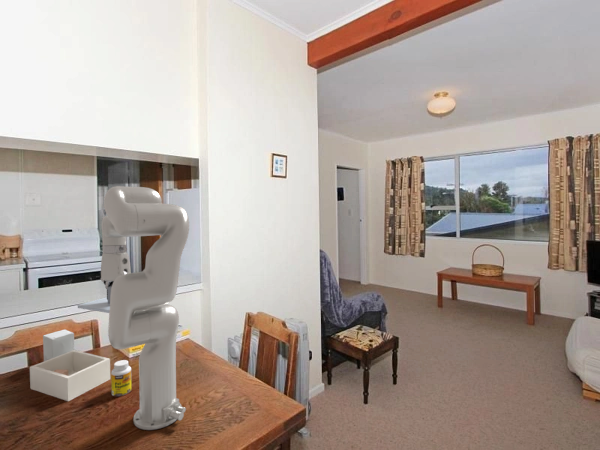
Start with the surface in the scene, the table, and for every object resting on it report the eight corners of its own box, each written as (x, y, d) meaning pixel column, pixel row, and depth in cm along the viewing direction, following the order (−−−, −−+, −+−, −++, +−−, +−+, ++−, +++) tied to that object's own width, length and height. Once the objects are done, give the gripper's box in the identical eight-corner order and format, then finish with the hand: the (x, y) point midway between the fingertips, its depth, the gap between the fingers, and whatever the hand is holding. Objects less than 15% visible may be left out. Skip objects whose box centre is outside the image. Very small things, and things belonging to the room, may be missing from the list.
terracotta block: (68, 381, 111) (68, 369, 111) (59, 387, 107) (59, 375, 107) (56, 381, 111) (56, 369, 111) (47, 387, 107) (47, 375, 107)
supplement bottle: (112, 401, 101) (111, 368, 101) (110, 392, 106) (110, 361, 106) (132, 395, 104) (132, 363, 104) (130, 387, 109) (130, 357, 109)
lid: (151, 302, 126) (151, 284, 125) (117, 314, 112) (117, 293, 111) (114, 297, 133) (114, 280, 132) (77, 307, 119) (77, 288, 118)
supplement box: (75, 366, 124) (74, 332, 123) (52, 374, 117) (51, 339, 117) (66, 361, 127) (65, 328, 127) (43, 369, 121) (42, 334, 121)
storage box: (110, 381, 113) (110, 358, 112) (68, 404, 100) (67, 378, 99) (74, 371, 119) (73, 349, 119) (30, 391, 106) (29, 367, 106)
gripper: (140, 249, 122) (141, 299, 123) (107, 247, 128) (108, 294, 129) (123, 252, 115) (124, 304, 116) (88, 249, 121) (89, 299, 122)
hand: (115, 299), depth 122 cm, fingers closed on lid, 3 cm apart
